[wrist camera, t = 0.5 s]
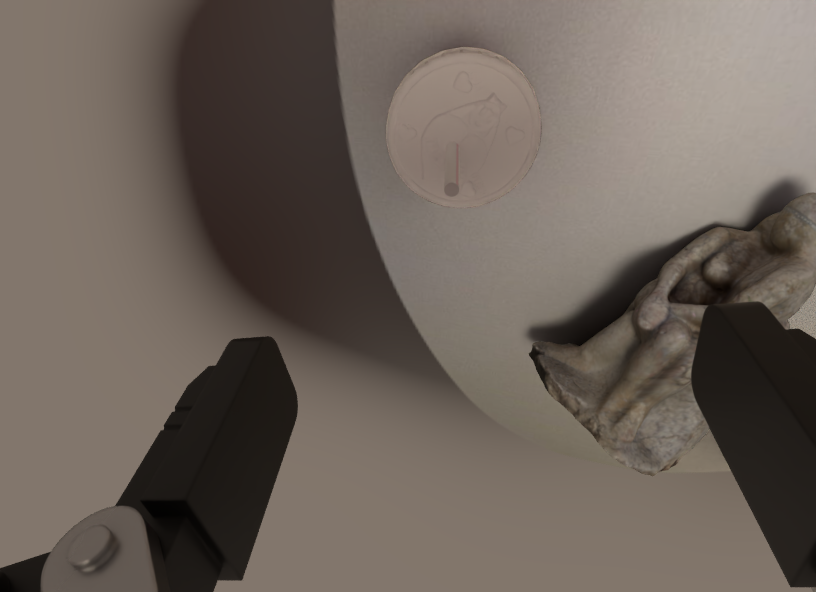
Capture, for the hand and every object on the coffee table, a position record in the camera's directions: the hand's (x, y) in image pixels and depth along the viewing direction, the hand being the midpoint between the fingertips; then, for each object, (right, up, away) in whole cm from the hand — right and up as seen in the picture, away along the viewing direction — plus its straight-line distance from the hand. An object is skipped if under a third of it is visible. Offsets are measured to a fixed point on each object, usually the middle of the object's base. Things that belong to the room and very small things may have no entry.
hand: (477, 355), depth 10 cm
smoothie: (+2, +13, +19) cm, 23 cm away
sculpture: (+17, +2, +25) cm, 30 cm away
